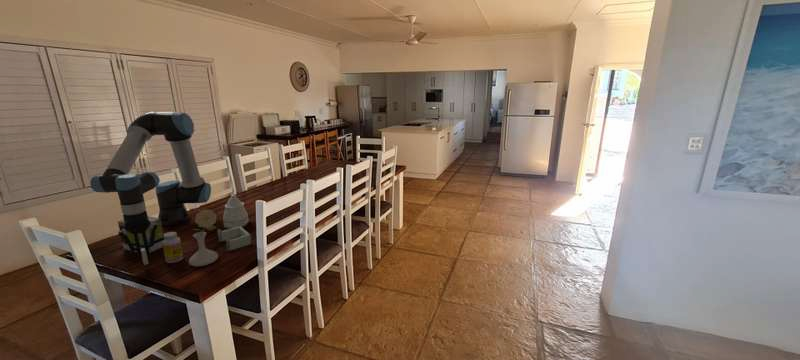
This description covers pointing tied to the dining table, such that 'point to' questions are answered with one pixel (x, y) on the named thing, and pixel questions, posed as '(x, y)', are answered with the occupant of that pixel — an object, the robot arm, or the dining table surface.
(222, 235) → the open rectangular box
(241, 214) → the honey pot
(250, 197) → the dining table surface
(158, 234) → the tea box
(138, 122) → the robot arm
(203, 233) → the flower in vase
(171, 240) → the supplement bottle
